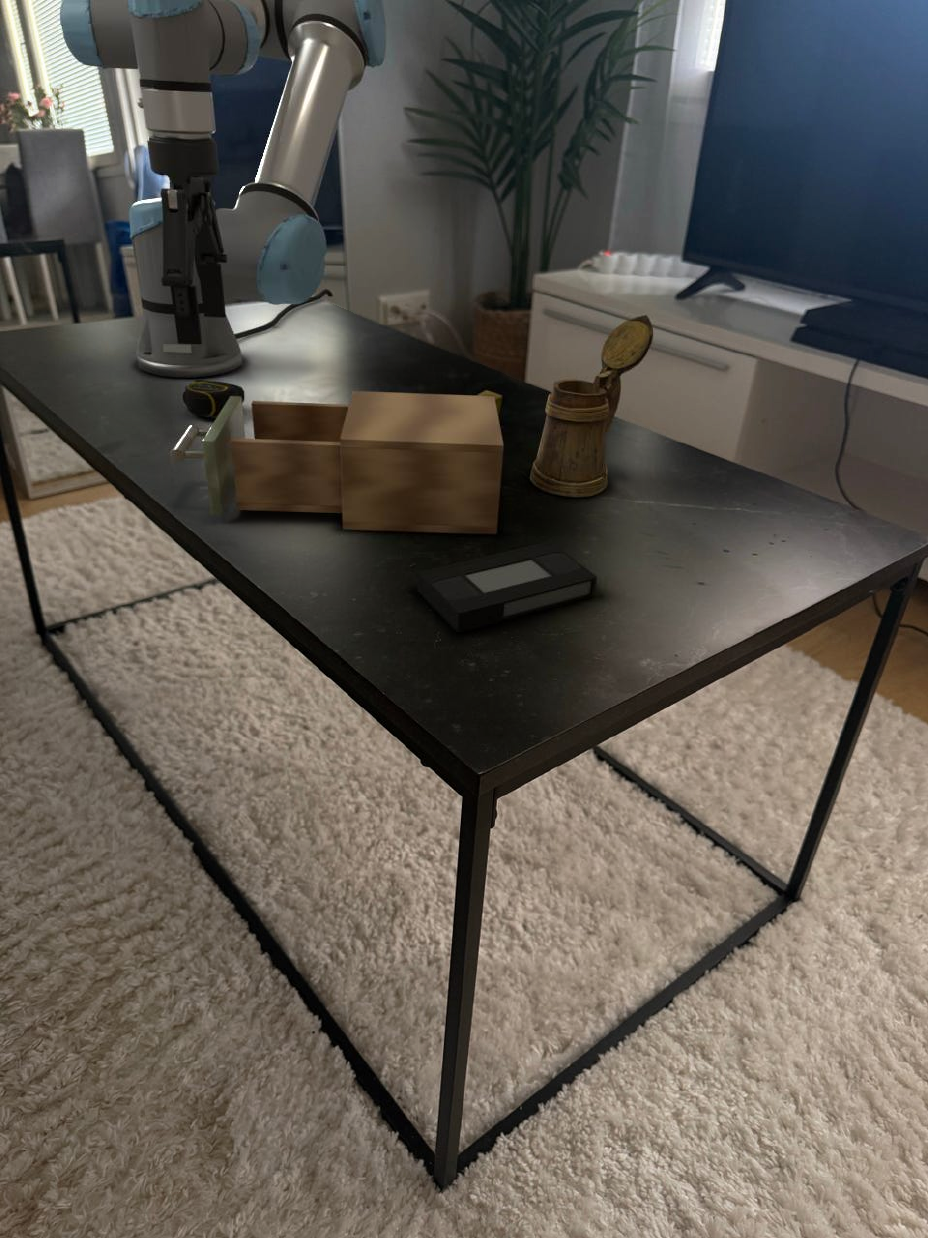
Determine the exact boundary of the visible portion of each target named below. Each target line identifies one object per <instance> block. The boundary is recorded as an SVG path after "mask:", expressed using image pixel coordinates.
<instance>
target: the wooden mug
mask: <svg viewBox="0 0 928 1238" xmlns="http://www.w3.org/2000/svg"><path fill="white" fill-rule="evenodd" d="M653 340H654V328H653V324H652V322H651V320H650V318H649V316H648V315H647V314H645V315H640V316H636V317H633V318H630V319H628V320H626V321H624V322H622V323H620V324H619V325H617V326H616V327H615V328H614V329H613V330H612V331H611V333H610V334H609V335H608V337H607V339H606V340H605V342H604V344H603V347H602V351H601V354H600V355H601V356H600V358H601V359H600V360H601V366H602V368H601V370H600V372H599V374H598V375H596V376H595V378H594V380H593V382H590V381H585V380H580V379H562V380H558V381H555V382H554V383H553V385H552V389H551V393H550V394H549V395H548V397H547V402H546V405H545V413H546V417H545V422H544V426H543V430H542V435H541V439H540V442H539V447H538V451H537V455H536V458H535V460H534V461H533V463H532V467H531V471H530V476H529V480H530V482H531V483H532V485H534V486H535V487H537V488H538V489H540V490H541V491H543V492H546V493H548V494H552V495H555V496H556V495H557V496H560V497H561V496H562V497H568V498H569V497H570V498H587V497H593V496H595V495H598V494H600V493H602V492H603V491H604V490H605V489H607V487H608V483H609V482H608V477H609V475H608V470H609V469H608V467H607V465H606V450H607V449H606V444H607V443H606V439H607V437H606V435H607V433H608V430H609V428H610V426H611V424H612V422H613V419H614V418H615V415H616V412H617V411H618V408H619V407H618V406H619V402H620V399H621V391H622V380H621V377H622V375H623V374H625V373H627V372H629V371H631V370H632V369H634V368H636V367H638V365H639V364H640V363H641V362H642V361H643V359H644V358H645V357H646V356H647V354H648V352H649V350H650V348H651V345H652V343H653Z"/></svg>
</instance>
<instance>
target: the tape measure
mask: <svg viewBox="0 0 928 1238" xmlns="http://www.w3.org/2000/svg"><path fill="white" fill-rule="evenodd" d="M230 396H239V397H241V398H242V404H243V403H244V402H245V390H244V389H243V387H242V386H240V385H237V384H234V383H228V382H222V381H213V380H205V379H197V380H195V381H194V382H191V383H189V384H187V385H186V386H185V389H184V391H182V401H183V403H184V405H185V406H186V409H187V412H189V413H191V414H193V415H196V416H201V417H204V418H211V419H216V418H217V417H218V415H219V414H220V412H221V410H222V409H223V407H224V406H225V404H226V403H227V401H228V400H229V398H230Z"/></svg>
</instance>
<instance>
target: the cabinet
mask: <svg viewBox="0 0 928 1238" xmlns="http://www.w3.org/2000/svg"><path fill="white" fill-rule="evenodd" d="M348 405H349V407H348V411H347V415H346V419H345V423H344V426H343V430H342V434H341V438H340V447H341V448H340V450H341V481H342V512H343V513H342V530H346V531H347V530H348V531H376V532H377V531H378V532H380V531H381V532H408V533H409V532H412V533H442V534H443V533H445V534H474V535H497V533H498V520H499V507H500V495H501V494H500V493H501V484H502V471H503V470H502V468H503V456H504V447H505V446H504V441H503V435H502V430H501V425H500V419H499V416H498V414H497V408H496V403H495V398H494V397H492V396H477V395H465V394H442V393H418V392H417V393H415V392H414V393H413V392H389V391H388V392H386V391H362V390H352V392H351V396H350V400H349V404H348Z"/></svg>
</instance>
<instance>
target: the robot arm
mask: <svg viewBox="0 0 928 1238" xmlns="http://www.w3.org/2000/svg"><path fill="white" fill-rule="evenodd" d="M383 1H384V0H62V1H61V3H60V9H59V23H60V27H61V31H62V37H63V39H64V43H65V45H66V47H67V49H68V50H69V52H70V54H71V55H72V57H74V59H75V60H76V61H78V62H79V63H81V64H82V65H84V66H89V67H94V68H95V67H96V68H101V69H103V70H107V69H121V70H123V69H124V70H138V81H139V88H140V94H141V95H140V96H141V97H138V99H137V102H136V103H137V107H139V109H143V117H144V118H143V119H144V125H145V129H146V130H147V131H149V132H151V134H152V135H150V136H148V137H147V138H148V139H146V143H147V151H148V159H149V167H150V169H151V172H152V173H153V174H155V175H158V176H166V177H167V178H168V180H169V188H164V187H163V188H161V189H160V197H157V198H150V199H144V200H140V201H137V202H135V203H133V204H132V205H131V206H130V208H129V213H128V218H129V233H130V234H129V239H130V240H131V244H132V252H133V257H134V263H135V269H136V270H135V271H136V275H137V282H138V288H139V295H140V300H141V308H142V317H141V321H140V322H141V323H140V327H139V335H138V340H137V347H136V353H135V354H136V360H137V366H138V368H139V369H140V370H142V371H144V372H146V373H148V374H151V375H154V376H160V377H169V378H182V379H183V378H186V379H187V378H203V377H211V376H217V375H222V374H226V373H229V372H231V371H234V370H236V369H238V368H239V367H240V366H241V365H242V363H243V359H242V358H243V357H242V350H241V347H240V345H239V342H238V340H239V339H243V338H246V337H249V336H253V335H256V334H259V333H263V332H265V331H267V330H270V329H271V328H274V327H275V326H276V325H277V324H278V323H279V322H280V321H281V319H282V318H283V317H285V316H286V315H287V314H288V313H290V312H291V311H292V310H295V309H296V308H299V307H302V306H304V305H307V304H310V303H313V302H316V301H318V300H321V298H323V297H324V296H325V295H327V297H330V298H331V297H334V295H333V293H332V292H331V290H330V289H328V288H325V289H322V290H321V291H319V292H318V293H316V291H317V290H318V289H319V286H320V284H321V282H322V279H323V276H324V273H325V268H326V260H325V257H326V255H327V239H326V234H325V231H324V228H323V226H322V224H321V223H320V219H319V215H318V213H317V212H316V209H315V208H314V207H315V204H316V202H317V199H318V195H319V191H320V187H321V183H322V180H323V177H324V173H325V170H326V167H327V163H328V160H329V156H330V154H331V150H332V146H333V142H334V140H335V136H336V134H337V133H336V132H337V129H338V126H339V122H340V119H341V115H342V112H343V109H344V105H345V102H346V98H347V94H348V92H349V91H351V90H353V89H354V88H356V87H358V85H359V84H360V83H361V81H362V80H363V77H364V74H365V70H366V67H371V68H373V69H374V68H375V67H380V66H381V65H382V64H383V63H384V60H385V57H386V50H387V25H386V15H385V8H384V2H383ZM259 57H261V58H267V59H272V60H273V59H274V60H279V61H284V62H292V63H291V67H290V70H289V72H288V76H287V79H286V82H285V86H284V89H283V92H282V95H281V98H280V102H279V105H278V108H277V111H276V114H275V118H274V121H273V124H272V126H271V130H270V134H269V137H268V139H267V143H266V146H265V149H264V152H263V156H262V159H261V161H260V165H259V168H258V172H257V175H256V177H255V181H252V182H249V183H247V184H245V185H244V186H242V188H241V189H240V191H239V193H238V197H237V200H236V203H235V206H234V208H221V207H216V202H215V201H214V197H213V189H212V181H211V179H210V178H211V177H215V176H217V175H218V174H219V173H220V166H219V155H218V145H217V143H218V142H217V141H215V139H214V138H212V134H214V133H215V132H216V131H217V130H216V118H215V108H214V100H213V98H214V97H213V91H212V85H211V75H217V76H219V75H220V76H222V77H225V76H227V77H230V78H232V77H235V76H236V75H237V76H239V75H242V74H243V75H244V74H245V73H247V72H249V71H250V70H251V69H252V68H253V67H254V66H255V64H256V62H257V60H258V58H259ZM315 293H316V294H315ZM314 294H315V295H314ZM225 299H234V300H243V301H252V302H262V303H268V304H269V305H276V306H278V305H287V306H286V307H284V308H283V309H282V310H281V311H280V312H278V313H277V314H276V316H275V317H274V318H273V319H272V320H271V321H269V322H266V323H265V324H263V325H259V326H256V327H254V328H251V329H247V330H243V331H239V332H236V333H235V332H234V329H233V328H232V325H231V322H230V320H229V318H228V315H227V312H226V301H225Z"/></svg>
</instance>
